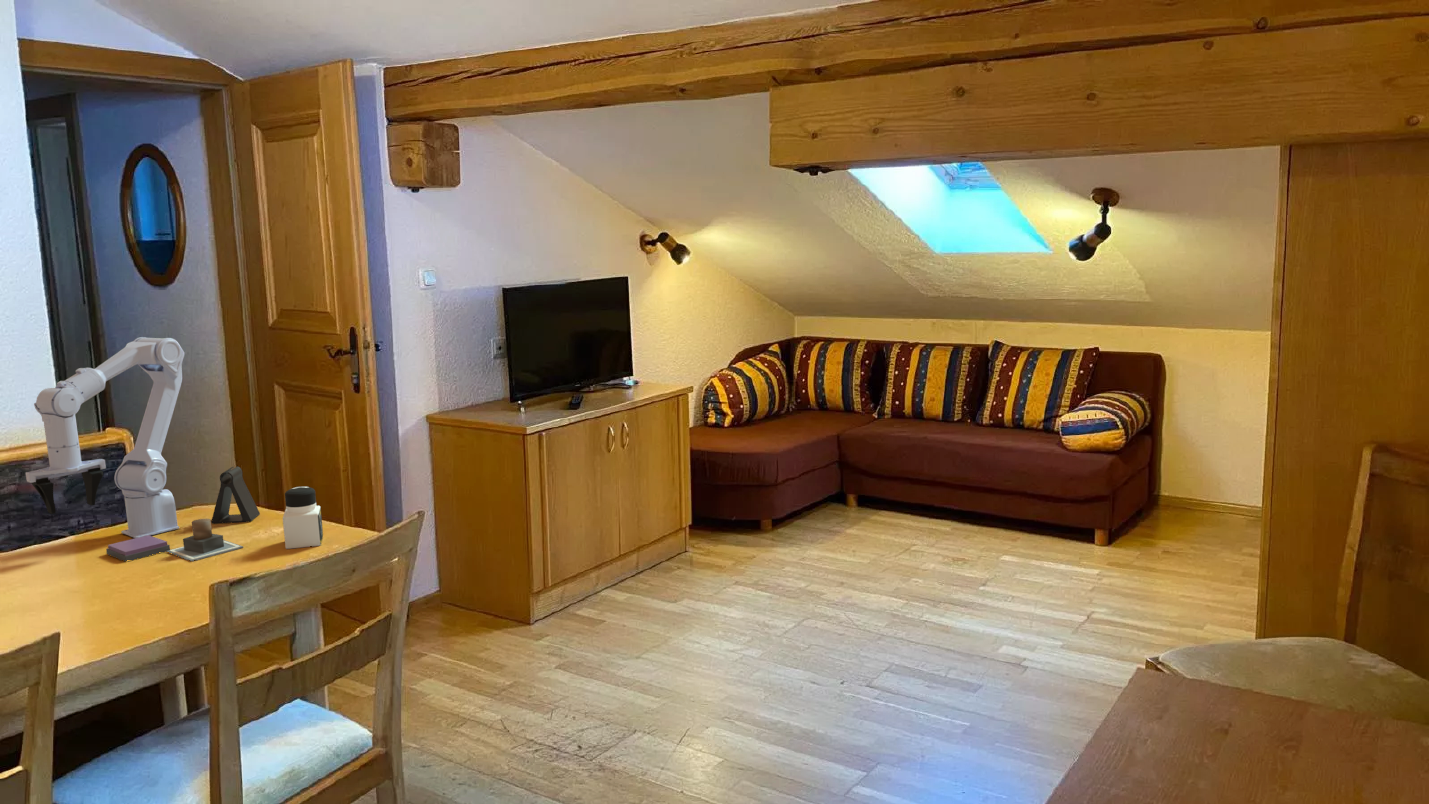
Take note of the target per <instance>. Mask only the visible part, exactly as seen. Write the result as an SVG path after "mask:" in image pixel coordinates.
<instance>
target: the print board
mask: <svg viewBox="0 0 1429 804" xmlns="http://www.w3.org/2000/svg"><path fill="white" fill-rule="evenodd" d="M223 541H224V547H222V548H219V549H216V550H213V551H210V552H207V553H198V552H192V551H186V550H184V546H180V547H177V548H172V549H170V550H168V551H166V552H165V553H167V552H169V553H168V554H170V553H172V554H174V555H173V556H175V555H177V556H176V557H178V556H179V557H178V558H180V557H181V559H183V558H184V559H183V560H186V561H188V560H190V561H189V562H191V561H192V562H195V561H194V560H196V561H198V560H203V559H207V558H211V557H215V556H218V555H221V554H225V553H229V552H230V553H231V552H233V551H236V550H237V551H238V550H240V549H243V548H244V545H243V546H242V545H241V544H237V543H234V542H231V541H228V540H225V539H223ZM172 554H171V555H172Z"/></svg>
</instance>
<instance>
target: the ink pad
mask: <svg viewBox="0 0 1429 804" xmlns="http://www.w3.org/2000/svg"><path fill="white" fill-rule="evenodd" d="M170 547H171V545H170V544H168V541H166V540H164V539H161V538H159V537H156V536H154V535H147V536H143V537H139V538H132V539H127V540H123V541H119V542H115V543H111V544H107V548H105V549H106V555H107V554H108V556H110V555H111V556H110V557H112V556H113V558H115V557H116V559H117V558H118V560H120V561H122V560H124V561H123V562H125V561H127V560H132V561H135V560H134V559H136V560H138V559H137V558H140V559H142V557H144V558H146V557H145V556H147V557H150V556H149V555H151V556H153V555H152V554H155V555H157V554H156V553H159V552H163V553H167V552H166V551H168V550H171V548H170ZM159 554H160V553H159Z"/></svg>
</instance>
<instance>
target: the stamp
mask: <svg viewBox="0 0 1429 804" xmlns="http://www.w3.org/2000/svg"><path fill="white" fill-rule="evenodd" d="M211 520H212V519H210V518H200V519H199V518H198V519H195V520H192V521H191V528H192V535H190V536H188V537H185V538H183V539H182V543H183V547H184V550H186V551H192V552H198V553H207V552H210V551H213V550H216V549H219V548H222V547H224V541H223V540H224V536H223V534H217V533H213V531H212V523H211Z"/></svg>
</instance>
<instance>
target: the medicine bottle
mask: <svg viewBox="0 0 1429 804" xmlns="http://www.w3.org/2000/svg"><path fill="white" fill-rule="evenodd" d="M316 497H317V496H316V490H315V489H314V488H313V487H309V486H296V487H293V488H290V489H288V490H287V491H285V493H284V500H285V510H284V513H283V516H282V525H283V536H284V544H285V545H284V546H285V547H284V548H285V549H286V550H290V549H299V548H300V549H301V548H310V546H312V547H320V546H322V543H323V538H324V530H323V519H322V509H321V508H322V507H321V506H320V505H317V498H316Z"/></svg>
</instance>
